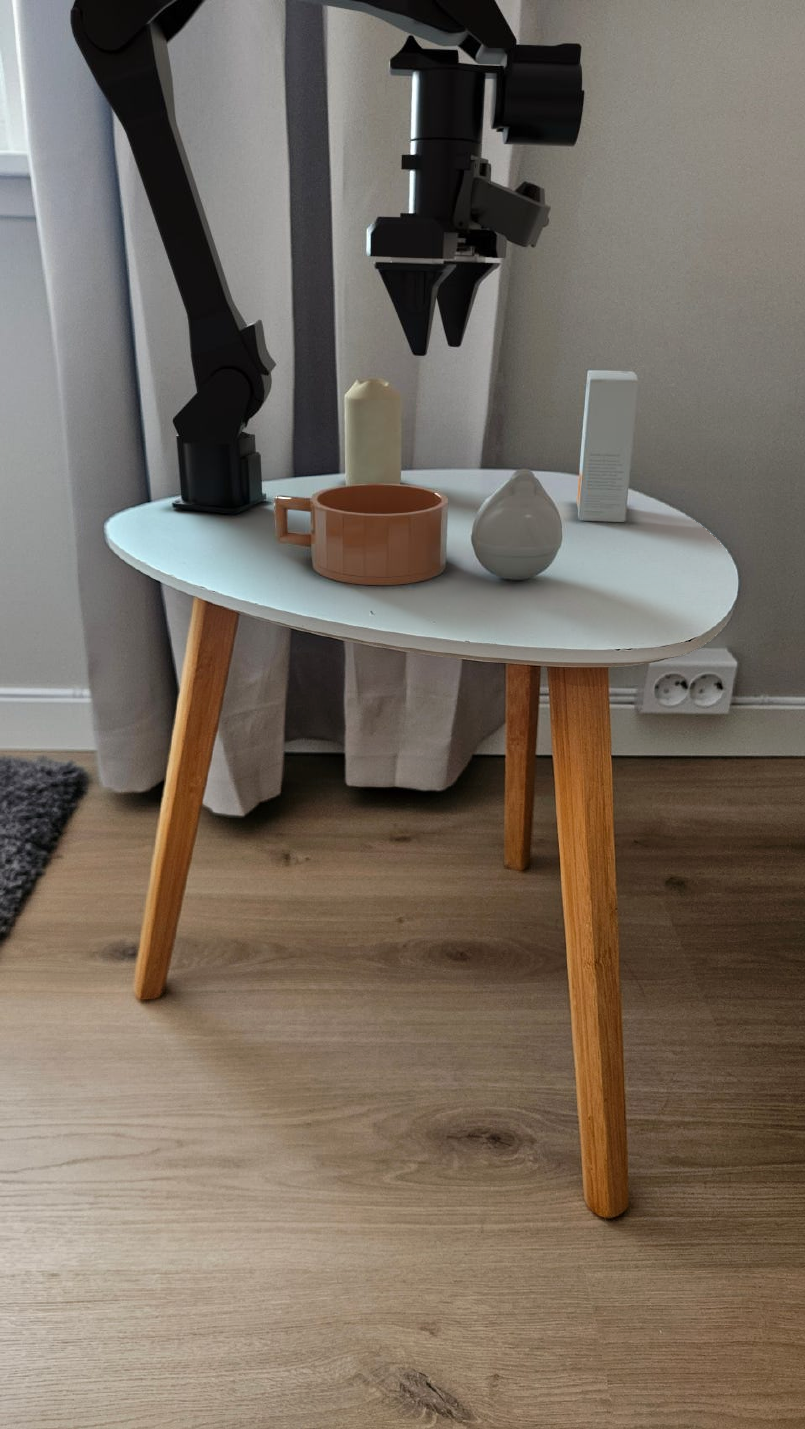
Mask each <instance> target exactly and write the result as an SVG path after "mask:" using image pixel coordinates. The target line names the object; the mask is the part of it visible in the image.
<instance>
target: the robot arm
mask: <svg viewBox="0 0 805 1429" xmlns="http://www.w3.org/2000/svg"><path fill="white" fill-rule="evenodd" d="M297 1H299V2H303V3H304V2H305V3H310V4H315V5H316V4H317V5H320V6H326V7H333V8H337V9H344V10H350V11H353V12H354V11H355V12H361V13H365V14H367V15H369V16H372V17H375V18H377V19H379V20H382V21H383V22H385V23H387V24H389V25H391V26H393V27H395V28H396V29H399V30H401V31H402V32H405V33H407V34H409V35H408V36H407V37H406V40H405V42H404V43H403V46H402V47H401V48H400V50H399V51H398V52H397V53H395V55H393V56H392V57H391V58H390V59H389V62H388V73H389V74H390V75H391V76H394V77H395V76H396V77H411V102H410V104H411V107H410V108H411V109H410V144H409V154H401V165H400V169H401V170H403V171H409V176H408V177H409V178H408V179H409V180H408V212H400V213H399V216H377V217H376V218H375V220H373V222H372V223H371V224H370V225H369V226H368V227H367V229H366V257H373V258H374V257H376V258H390V261H374V262H373V267H374V270H377V271H378V273H379V275H380V278H381V280H382V282H383V284H384V287H385V290H386V291H387V293H388V296H389V298H390V300H391V303H392V305H393V308H394V311H395V312H396V315H397V318H398V321H399V323H400V325H401V328H402V331H403V333H404V335H405V338H406V341H407V343H408V346H409V349H410V351H411V353H412V355H413V356H415V357H425V356H427V354H428V350H429V346H430V345H429V344H430V340H431V335H432V334H431V333H432V327H433V322H434V315H435V311H436V310H435V309H436V303H437V307H438V310H439V315H440V320H441V323H442V327H443V332H444V335H445V339H446V342H447V346H448V347H450V348H460V347H461V346H462V343H463V340H464V337H465V333H466V330H467V327H468V324H469V320H470V317H471V313H472V310H473V307H474V303H475V300H476V297H477V294H478V291H479V287H480V285H481V284H482V282H483V281H484V280H485V279H486V278H487V277H489V276H490V274H492V273H493V272H494V271H495V270H497V269H498V268H499V267H500V266H501V262H486V258H488V259H489V258H491V259H506V258H507V247H508V246H507V245H508V242H509V243H512V244H514V245H516V246H519V247H522V248H528V247H529V246H530V247H531V248H536V247H537V244H538V241H539V238H540V237H541V233H542V232H543V229H544V228H547V226H548V225H549V223H550V218H549V214H550V211H551V206H550V205H548V204H546V192H545V190H546V189H545V188H543V187H541V186H539V185H537V184H535V183H532V182H531V181H526V180H524V181H523V182H522V183H521V184H519V185H518V187H517V188H515V189H512V188H510V187H507V186H504V185H501V184H500V183H498V182H495V181H492V164H491V163H489V159H487V158H484V157H483V135H484V134H483V133H484V115H485V98H486V97H485V96H486V81H487V80H492V82H491V84H492V85H491V95H490V96H491V97H490V114H489V115H490V118H489V119H490V120H489V122H490V130H495V131H496V132H495V133H502V143H503V144H504V145H512V146H513V145H515V146H540V147H541V146H542V147H543V146H545V147H572V148H573V147H575V145H576V143H577V141H578V138H579V134H580V129H581V124H582V119H583V112H584V104H585V92H586V91H585V90H584V89H583V66H582V63H581V58H582V57H581V56H582V45H581V44H580V43H576V42H575V43H574V42H563V43H559V44H555V45H545V44H544V45H543V44H518V41H517V37H516V36H515V34H514V32H513V30H512V29H511V26H510V25H509V23H508V21H507V19H506V18H505V16H504V13H503V12H502V10H501V8H500V7H499V5H498V3H497V1H496V0H297ZM205 2H206V0H74V2H73V4H72V7H71V9H70V12H69V13H70V15H69V17H70V19H69V20H70V27H71V33H72V36H73V38H74V40H75V43H76V45H77V47H78V49H79V51H80V53H81V55H82V57H83V59H84V61H85V63H86V66H87V67H88V69H89V71H90V72H91V73H90V74H92V77H93V79H94V80H95V83H96V84H97V86H98V88H99V90H100V91H101V93H102V94H103V97H104V98H105V100H106V101H107V103H108V104H109V106H110V108H111V110H112V111H113V113H114V114H115V116H116V118H117V120H118V121H119V123H120V124H121V126H122V128H123V130H124V132H125V135H126V138H127V140H128V144H129V147H130V150H131V152H132V155H133V159H134V161H135V164H136V167H137V170H138V173H139V176H140V180H141V182H142V185H143V188H144V191H145V194H146V196H147V200H148V203H149V206H150V209H151V213H152V215H153V218H154V221H155V224H156V226H157V230H158V233H159V236H160V239H161V241H162V244H163V248H164V251H165V254H166V256H167V259H168V262H169V266H170V268H171V271H172V274H173V277H174V279H175V283H176V286H177V290H178V291H179V292H178V293H179V295H180V297H181V301H182V304H183V306H184V310H185V313H186V317H187V323H188V325H187V326H188V336H189V338H188V339H189V350H190V360H191V367H192V371H193V372H192V373H193V378H194V383H195V390H196V393H195V394H194V395H193V396H192V397H191V398H190V399H189V401H187V403H186V404H184V406H183V407H182V408H181V409H180V411H178V412H177V413H176V414H175V416H173V418H172V424H173V426H174V428H175V431H176V435H175V442H176V452H177V463H178V477H179V488H180V498H178V499H176V500H173V501H171V506H172V508H174V509H183V510H191V511H192V510H193V511H202V512H211V513H219V514H220V513H221V514H230V515H232V514H233V515H235V514H238V513H241V512H243V511H245V510H246V509H249V508H251V507H253V506H255V505H257V504H259V503H261V502H263V501H265V500H267V493H264V492H263V476H262V458H261V457H262V456H261V453H260V452H259V451H257V449H256V448H257V447H256V434H254V433H248V432H246V431H244V430H245V429H246V428H247V427H248V425H249V421H250V420H251V419H252V418H253V417H254V416H255V415H257V413H258V412H259V411H260V410H261V408H262V407H263V405H264V404H265V403H266V401H267V399H268V398H269V396H270V393H271V389H272V384H273V378H272V371H273V370H274V369H275V368H276V366H277V362H276V361H275V360H274V359H273V357H272V356H271V355H270V352H269V350H268V347H267V343H266V338H265V330H264V325H263V321H262V320H261V319H257V320H256V321H253V322H251V323H250V324H248V325H247V323H246V321H245V319H244V318H243V316H242V314H241V312H240V311H239V309H238V308H237V305H236V304H235V301H234V300H233V297H232V294H231V290H230V287H229V284H228V281H227V278H226V275H225V271H224V268H223V266H222V262H221V259H220V256H219V253H218V250H217V246H216V243H215V239H214V237H213V234H212V231H211V227H210V225H209V224H210V223H209V221H208V217H207V215H206V212H205V208H204V205H203V202H202V199H201V196H200V193H199V190H198V187H197V183H196V179H195V177H194V174H193V171H192V167H191V165H190V162H189V161H190V160H189V157H188V155H187V152H186V149H185V145H184V143H183V140H182V136H181V133H180V130H179V127H178V123H177V117H176V107H175V106H176V104H175V93H174V81H173V75H172V74H173V73H172V68H171V60H170V54H169V48H168V44H169V43H170V42H171V41H173V39H175V38H176V37H177V35H179V33H181V32H182V31H183V30H184V28H185V27H186V26H187V25H188V24H189V22H190V21H191V20H192V19H193V17H194V16H195V15H196V13H197V12H198V11H199V10H200V8H201V7H202V6H203V4H204V3H205ZM415 37H417V38H420V39H423V40H424V41H427V42H429V43H432V44H435V45H437V46H441V47H457V48H458V49H460V50H461V51H462V52H464V53H465V54H466V55H467V56H468V57H469V58H470V59H471V60H473V61H474V62H475V63H476V64H474V63H465V62H460V57H459V54H460V53H459V50H458V49H448V48H447V49H446V48H425V47H422V46H421V45H420V44H419V43H418V41H417V40H416V38H415Z"/></svg>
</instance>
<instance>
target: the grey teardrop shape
mask: <svg viewBox="0 0 805 1429" xmlns="http://www.w3.org/2000/svg"><path fill="white" fill-rule="evenodd" d="M562 524H563V523H562V519H561V515H560V512H559V510H558V508H557V506H556V503H555V502H554V500H553V499H552V498H551V497H550V495H549V494H548V492H547V491H546V489H545V488H544V487H543V485H542V483H541V482H540V480H539V478H538V477H536V476H535V474H534V473H533V471H532V470H530V469H527V468H519V469H518V470H516V471H514V473H512V474H511V476H510V477H509V478H508V479H506V481H505V482H504V483H503V484H502V485H501V486H500V487H499V488H497V489H496V490H495V491H494V492H493V493H492V494H490V495H489V496H488V497H487V498H486V499H484V501H483V503H482V504H481V505H480V507H479V509H478V511H477V513H476V515H475V518H474V521H473V525H472V528H471V535H470V541H471V542H470V543H471V545H472V550H473V552H474V555H475V557H476V559H477V561H478V562H479V564H480V565H481V566H482V567H483V568H484V569H485V570H486V571H487V572H489V573H490V574H491V575H494V576H495V577H498V578H502V579H505V580H511V581H512V580H513V581H521V580H526V579H531V578H533V577H536V576H538V575H540V574H541V573H543V572H545V571H546V570H547V569H548V568H549V567H550V566H551V565H552V564H553V562H554V560H555V559H556V557H557V555H558V554H559V553H558V552H559V550H560V549H561V547H562V542H563V525H562Z"/></svg>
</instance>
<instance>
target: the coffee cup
mask: <svg viewBox="0 0 805 1429" xmlns="http://www.w3.org/2000/svg"><path fill="white" fill-rule="evenodd" d="M288 510H290V511H298V512H308V513H310V533H306V532H305V533H303V532H296V531H289V515H288V514H289V513H288ZM273 512H274V513H273V514H274V537H275V538H274V539H275V541H276V542H277V544H280V545H284V546H285V545H286V546H287V545H288V546H293V547H302V548H303V547H304V548H310V550H311V554H310V555H311V562H312V563H311V564H312V568H313V570H314V571H315V572H316V573H318V574H319V575H321V576H323V577H324V578H327V579H330V580H333V581H337V582H342V583H347V584H354V585H362V586H363V585H364V586H365V585H366V586H396V585H407V584H414V583H418V582H423V581H427V580H430V579H432V578H436V577H437V576H439V575H441V574H442V573H443V572H444V571H445V570H446V566H447V551H448V549H447V548H448V523H449V522H448V519H449V518H448V516H449V498H448V496H446V495H445V494H444V493H442V492H440V491H437V490H434V489H431V488H428V487H423V486H417V485H410V484H401V483H400V484H382V483H369V484H353V485H346V484H343V485H338V486H333V487H329V488H324V489H321V490H319V491H317V492H315V493H313V494H312V495H311V497H302V496H294V495H293V496H292V495H283V494H282V495H281V494H280V495H279V494H278V495H277V496H275V497H274V499H273Z"/></svg>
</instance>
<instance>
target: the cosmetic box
mask: <svg viewBox="0 0 805 1429" xmlns="http://www.w3.org/2000/svg"><path fill="white" fill-rule="evenodd" d="M585 386H586V387H585V395H584V396H585V399H584V407H583V408H584V409H583V421H582V422H583V423H582V432H581V434H582V435H581V445H580V446H581V447H580V458H579V459H580V460H579V470H578V483H577V497H576V505H577V515H578V516H577V519H578V520H579V521H583V522H585V521H586V522H587V521H588V522H610V523H624V522H626V518H627V508H628V498H629V487H630V479H631V467H632V458H633V449H634V439H635V430H636V429H635V428H636V421H637V408H638V399H639V389H640V380H639V377H638V375H637V374H636V373H635V371H627V370H626V371H625V370H602V369H599V370H597V369H595V370H593V369H592V370H591V369H590V370H589V369H588V371H587V375H586V385H585Z"/></svg>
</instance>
